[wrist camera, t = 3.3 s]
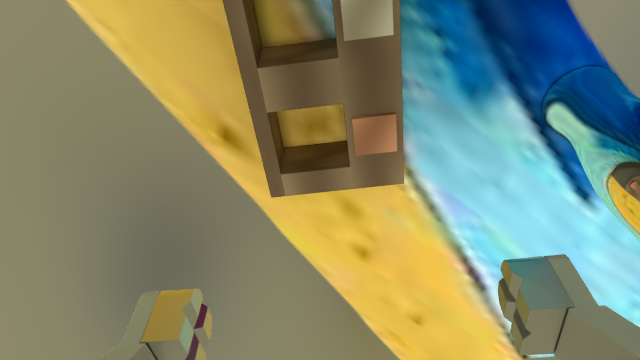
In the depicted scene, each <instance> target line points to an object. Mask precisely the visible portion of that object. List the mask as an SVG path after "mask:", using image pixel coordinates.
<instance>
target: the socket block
mask: <svg viewBox="0 0 640 360" xmlns="http://www.w3.org/2000/svg"><path fill="white" fill-rule="evenodd" d="M332 2H333V12H334V21H335V30H336V39H328V40H321V41H313V42H305V43H298V44H290V45H282V46H275V47H267V48H263V46H262V41H261V37H260V32H259V27H258V22H257V17H256V13H255V8H254V3H253V0H223V4H224V8H225V12H226V16H227V20H228V24H229V28H230V32H231V36H232V40H233V44H234V48H235V52H236V56H237V60H238V65H239V69H240V73H241V77H242V81H243V85H244V89H245V93H246V97H247V101H248V105H249V109H250V113H251V117H252V121H253V125H254V129H255V133H256V137H257V141H258V145H259V149H260V154H261V158H262V162H263V166H264V170H265V174H266V178H267V182H268V186H269V190H270V194H271V197H281V196H290V195H300V194H309V193H319V192H328V191H337V190H347V189H356V188H366V187H375V186H385V185H394V184H403V183H404V164H403V119H402V73H401V28H400V0H332ZM335 104H344V114H345V123H346V132H347V141H342V142H334V143H325V144H316V145H307V146H299V147H290V148H284V147H283V142H282V137H281V132H280V128H279V123H278V118H277V113H276V111H285V110H293V109H301V108H310V107H318V106H326V105H335Z"/></svg>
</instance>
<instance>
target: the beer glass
mask: <svg viewBox="0 0 640 360" xmlns="http://www.w3.org/2000/svg"><path fill="white" fill-rule="evenodd" d="M542 117H543V120H544V122H545V124H546V125H547V127H548V128H549V129H551V130H552V131H553V132H555V133H556V134H558V135H559V136H561V137H562V138H564V139H565V140H567V141H568V142H569V143H570V145H571V146H572V147H573V149H574V151H575V153H576V155H577V157H578V159H579V161H580V163H581V165H582V167H583V169H584V171H585V173H586V175H587V177H588V179H589V181H590V183H591V185H592V186H593V188H594V190H595V191H596V193H597V195H598V196H599V197H600V199H601V200H602V201H603V203H604V204H605V205H606V207H607V208H608V209H609V210H610V212H611V213H612V214H613V215H614V216H615V217H616V218H617V219H618V220H619V222H620V223H621V224H622V225H623V226H624V227H625V228H626V229H627V230H628V231H629V232H630V233H631V234H632V235H633V236H634V237H635V238H636V239H637V240H638V241H640V98H637V97H636V96H634V95H633V94H631V93H630V92H629V91H628V90H627V89H626V87H625V86H624V85H623V83H622V82H621V80H620V79H619V78H618V77H617V75H616V74H614V73H613V72H612V71H611V70H609V69H607V68H604V67H600V66H586V67H582V68H578V69H575V70H573V71H571V72H569V73H567V74H566V75H564V76H563V77H561V78H560V79H559V80H557V81H556V82H555V83H554V84H553V85H552V87H551V88H550V89H549V91H548V92H547V94H546V96H545V98H544V100H543V103H542Z"/></svg>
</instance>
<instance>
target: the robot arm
mask: <svg viewBox="0 0 640 360" xmlns="http://www.w3.org/2000/svg"><path fill="white" fill-rule="evenodd" d="M501 272H502V274H503V278H502V279H501V280H500V281H499V285H498V296H499V302H500V306H501V310H502V312H503V315H504V317H505V318H506V319H508V320H509V321H510V322H512V325H511V331H510V333H511V335H512V338H513V340H514V343H515V345H516V348H517V350H518V353H519V355H534V354H555V356H556V357H557V358H558V359H559V360H640V327H638V326H636V325H635V324H633V323H632V322H630V321H628V320H627V319H625V318H624V317H622V316H621V315H619V314H617V313H616V312H614V311H613V310H611V309H610V308H608V307H606V306H598V304H597V303H596V301H595V299H594V298H593V296H592V294H591V293H590V291H589V290H588V288H587V286H586V285H585V283H584V282H583V280H582V278H581V277H580V275H579V274H578V272H577V270H576V269H575V267H574V265H573V264H572V262H571V261H570V259H569V257H567V256H566V255H565V254H563V255H552V256H544V257H542V256H539V257H529V258H520V259H510V260H504V261H503V262H502V265H501ZM202 300H203V296H202V293H201V292H200V290H199V289H186V290H171V291H158V292H145V293H143V295H142V296H141V297H140V298H139V301H138V303H137V305H136V308H135V310H134V313H133V315H132V318H131V320H130V323H129V325H128V328H127V330H126V333H125V335H124V337H123V340H122V342H121V345H116V346H114V347H113V348H112V349H111V350H110V351H109V352H108V353H107V354H105V355H104V356H103V357H102V358H101V359H100V360H206V354H205V352H204V350H203V348H204V347H205V345H206V344H207V343H208V342H209V341H210V337H211V332H212V318H211V313H210V311H209V308H208V307H207V306H205V305H204V304H202Z"/></svg>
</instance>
